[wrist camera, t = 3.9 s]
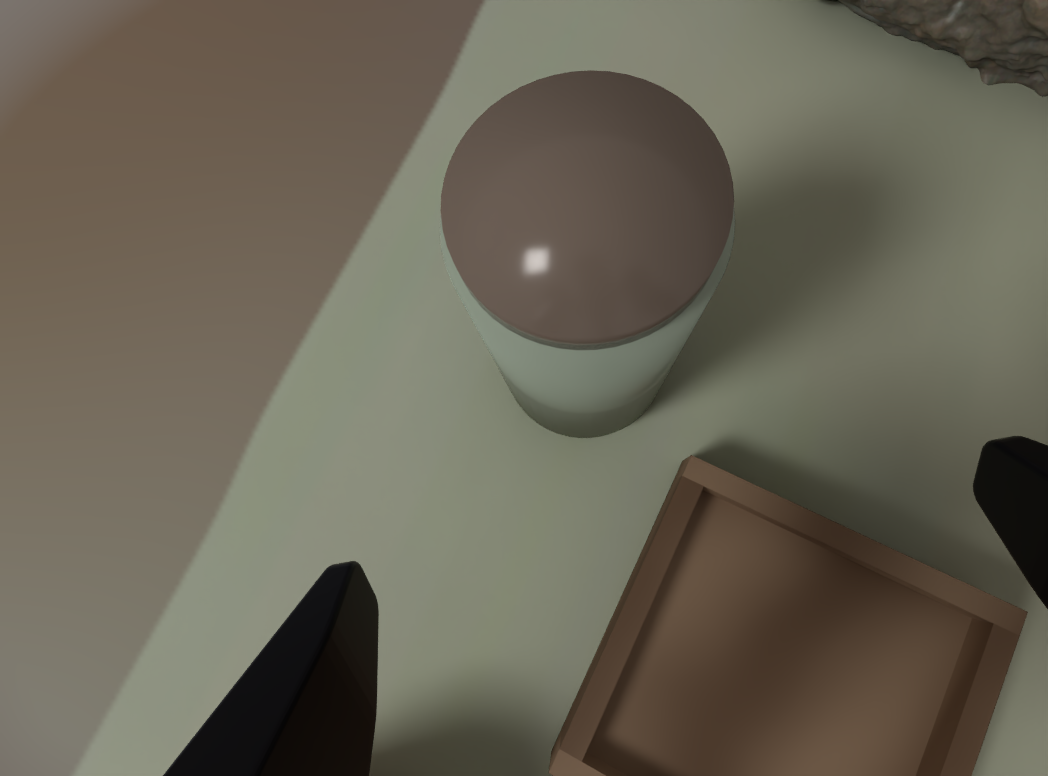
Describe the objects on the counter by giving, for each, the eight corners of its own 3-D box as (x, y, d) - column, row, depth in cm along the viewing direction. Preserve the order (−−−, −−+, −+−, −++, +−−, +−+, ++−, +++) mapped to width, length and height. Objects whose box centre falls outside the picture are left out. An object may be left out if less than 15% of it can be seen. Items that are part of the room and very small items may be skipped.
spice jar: (690, 321, 22) (795, 122, 11) (623, 465, 21) (666, 403, 10) (547, 260, 23) (514, 23, 12) (477, 395, 22) (375, 271, 11)
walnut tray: (987, 603, 19) (1027, 612, 17) (869, 934, 18) (900, 979, 16) (682, 460, 21) (691, 455, 19) (551, 750, 19) (548, 772, 18)
